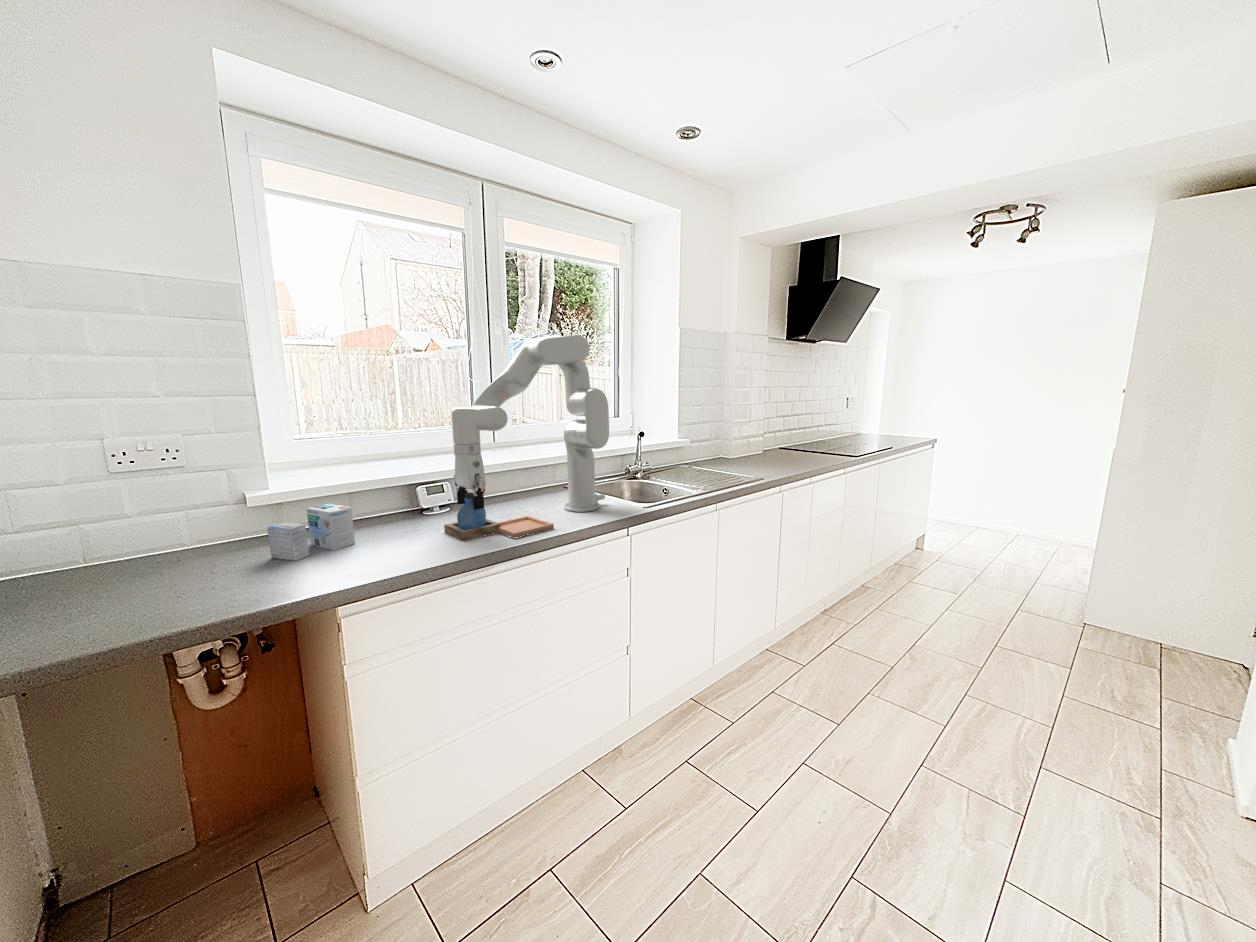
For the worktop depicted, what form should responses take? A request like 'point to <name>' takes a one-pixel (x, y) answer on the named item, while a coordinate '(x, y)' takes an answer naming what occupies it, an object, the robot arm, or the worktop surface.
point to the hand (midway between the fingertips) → (470, 506)
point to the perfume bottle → (470, 515)
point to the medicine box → (288, 541)
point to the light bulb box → (331, 526)
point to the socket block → (471, 530)
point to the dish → (523, 526)
